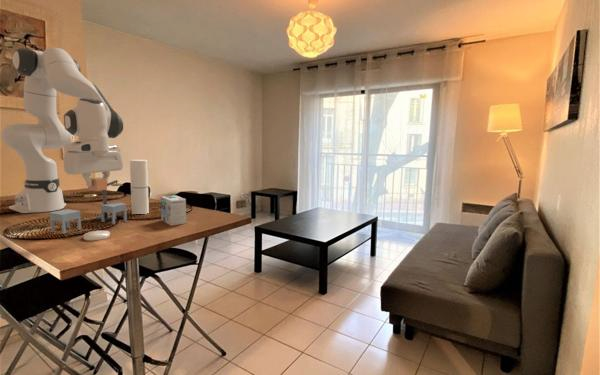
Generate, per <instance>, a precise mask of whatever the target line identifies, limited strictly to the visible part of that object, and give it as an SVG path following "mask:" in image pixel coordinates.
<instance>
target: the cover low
mask: <svg viewBox="0 0 600 375" xmlns="http://www.w3.org/2000/svg"><path fill="white" fill-rule="evenodd" d="M74 220H76V221H77V231H78V230H80V229H81V230H82V216H81V211H80V210H75V209H68V208H66V209H60V210H55V211H50V212H49V224H50V232H54V233H56V229H55V222H60V223H61V233H62V234H65V233H66V234H67V228H70V229H71V221H74Z"/></svg>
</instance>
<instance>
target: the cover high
mask: <svg viewBox="0 0 600 375" xmlns="http://www.w3.org/2000/svg"><path fill="white" fill-rule="evenodd" d="M104 212H107V214H111V216H112V219H111V225H112V224H114V225H116V220H117V213H120V212H122V214H123V222H127V221H128V217H127V203H123V202H116V201H113V202H107V204H103V203H102V204H100V216H101V220H100V221H101V222H105V221H106V220H105V219H104Z"/></svg>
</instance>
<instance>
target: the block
mask: <svg viewBox="0 0 600 375" xmlns="http://www.w3.org/2000/svg"><path fill="white" fill-rule="evenodd" d="M90 179H91V180H92V181H94V186H87V187H88V188H87V189H88V191H90V190H93V191H94V192H98V191H102V190H106V191H107V190H108V186H107V184H108V183H107V181H108V179H107V180H106V178H103V177H93V178H92V177H90Z"/></svg>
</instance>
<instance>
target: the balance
mask: <svg viewBox="0 0 600 375" xmlns="http://www.w3.org/2000/svg"><path fill="white" fill-rule="evenodd" d="M109 186H111V187H121V186H123V183H119V181H118V180H117V179H116V180H113V181H111V182H108V183H107V187H109ZM88 191H89V194H84V195H83V198H96V197H98V194H97V193H95V191H93V190H88ZM101 191H102V192H101V193H102V205H103V204H108V201H107V200H108V199H107V198H108V197H107V189H106V190H101ZM95 219H96V220H100V219H101V215H98V216H96V217H95ZM104 219H105V221H106V220H108V221H112V215H109V213H108V212H104Z"/></svg>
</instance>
